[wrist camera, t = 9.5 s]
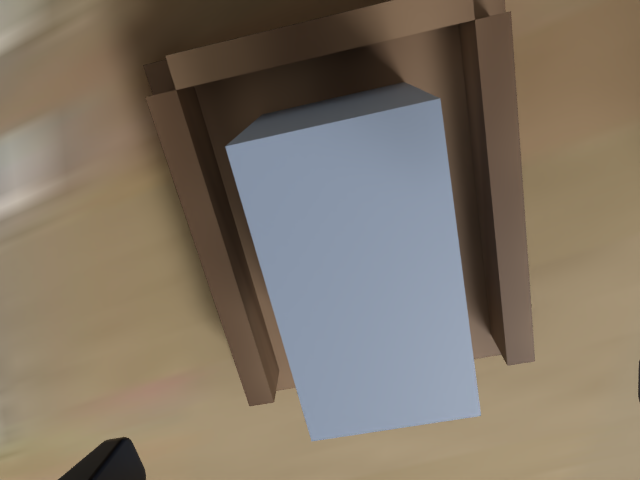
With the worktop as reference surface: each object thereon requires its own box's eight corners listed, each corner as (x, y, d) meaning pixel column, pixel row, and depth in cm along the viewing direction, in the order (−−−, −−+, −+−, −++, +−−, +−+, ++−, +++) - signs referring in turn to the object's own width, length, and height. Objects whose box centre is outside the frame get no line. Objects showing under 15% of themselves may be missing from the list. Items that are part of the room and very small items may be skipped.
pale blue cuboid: (404, 81, 16) (440, 98, 11) (439, 310, 19) (480, 415, 14) (262, 114, 17) (225, 146, 11) (318, 332, 20) (311, 441, 14)
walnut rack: (493, -18, 16) (526, -33, 13) (521, 336, 21) (550, 380, 18) (153, 64, 17) (118, 67, 14) (255, 380, 22) (244, 427, 19)
